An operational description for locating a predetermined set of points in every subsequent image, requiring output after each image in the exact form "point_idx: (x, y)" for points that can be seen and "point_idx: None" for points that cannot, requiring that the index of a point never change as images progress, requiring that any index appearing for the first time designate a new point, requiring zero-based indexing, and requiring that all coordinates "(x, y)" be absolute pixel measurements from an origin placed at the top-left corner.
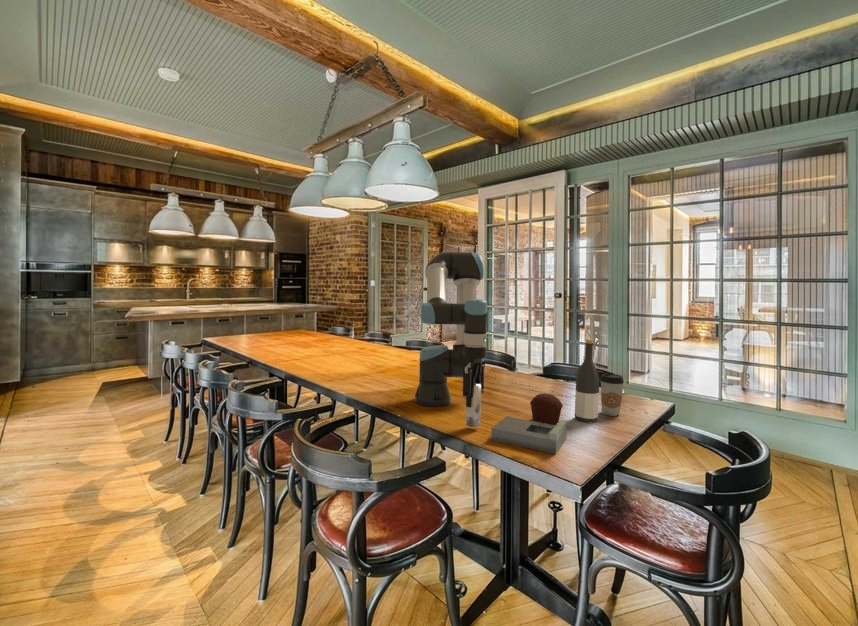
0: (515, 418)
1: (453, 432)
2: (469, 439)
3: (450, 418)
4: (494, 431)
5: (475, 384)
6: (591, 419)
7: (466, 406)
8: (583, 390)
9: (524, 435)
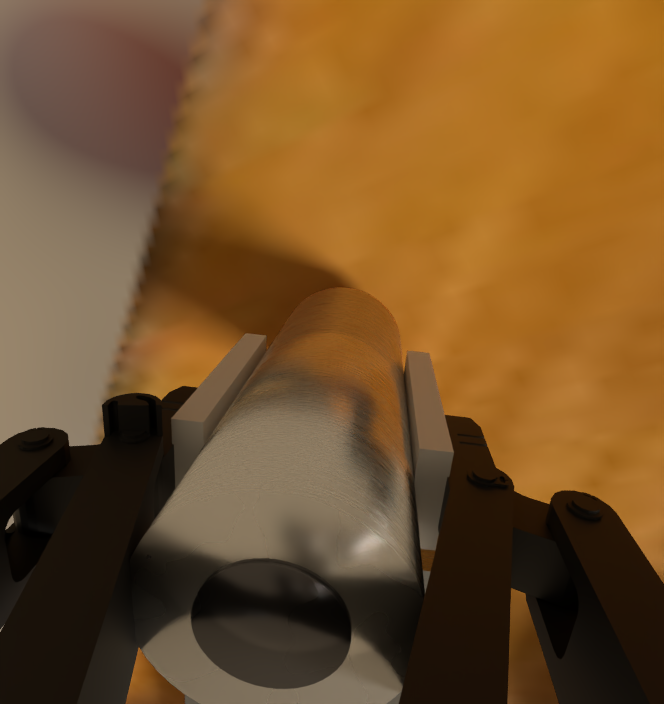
0: None
1: (209, 229)
2: (152, 372)
3: (536, 55)
4: None
5: (216, 664)
6: None
7: (178, 390)
8: None
9: (187, 698)
